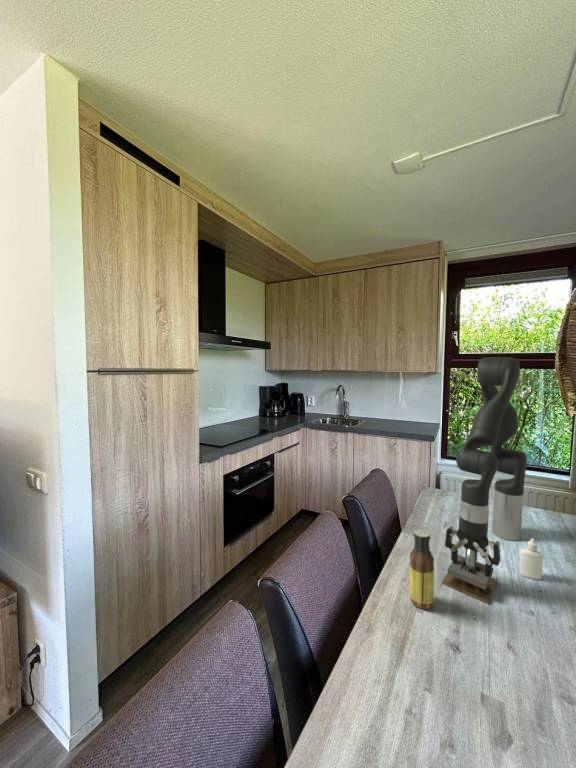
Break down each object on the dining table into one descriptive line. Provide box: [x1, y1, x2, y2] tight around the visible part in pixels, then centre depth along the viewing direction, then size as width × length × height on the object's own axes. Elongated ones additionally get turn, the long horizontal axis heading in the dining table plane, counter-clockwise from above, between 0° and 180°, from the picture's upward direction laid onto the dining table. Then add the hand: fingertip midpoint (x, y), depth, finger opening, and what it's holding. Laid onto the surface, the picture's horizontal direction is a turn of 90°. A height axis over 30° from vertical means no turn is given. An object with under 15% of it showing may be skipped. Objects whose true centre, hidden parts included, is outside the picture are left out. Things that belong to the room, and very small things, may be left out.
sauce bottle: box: [409, 529, 435, 610], centre depth 90 cm, size 7×6×20 cm
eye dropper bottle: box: [518, 537, 544, 580], centre depth 102 cm, size 4×6×12 cm
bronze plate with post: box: [441, 548, 498, 605], centre depth 98 cm, size 12×12×11 cm
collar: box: [446, 554, 494, 590], centre depth 98 cm, size 10×10×2 cm
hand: (470, 568), depth 98 cm, fingers open, 8 cm apart
